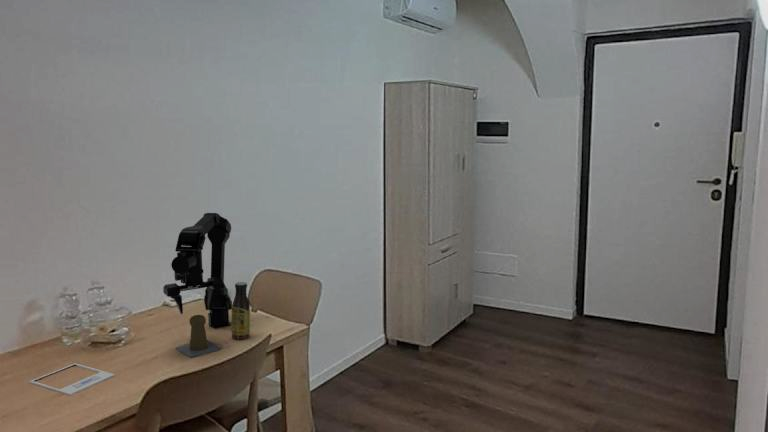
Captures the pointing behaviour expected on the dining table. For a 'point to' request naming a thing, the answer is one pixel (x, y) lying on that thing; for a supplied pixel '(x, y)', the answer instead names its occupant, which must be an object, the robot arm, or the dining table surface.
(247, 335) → the sauce bottle
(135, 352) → the dining table surface
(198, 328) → the dark olive bulbous piece
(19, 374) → the dining table surface
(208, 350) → the slate coaster
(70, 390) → the photo frame
